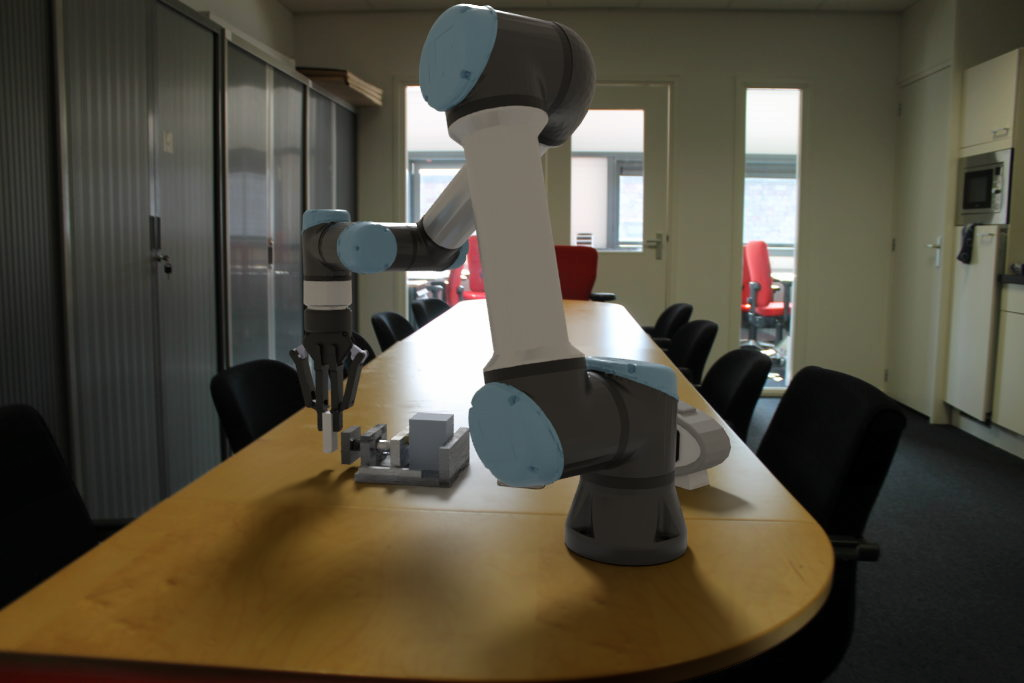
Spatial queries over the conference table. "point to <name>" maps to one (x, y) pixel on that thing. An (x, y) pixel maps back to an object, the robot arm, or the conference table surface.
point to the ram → (394, 447)
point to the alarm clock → (698, 446)
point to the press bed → (379, 471)
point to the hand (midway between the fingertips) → (330, 450)
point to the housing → (428, 439)
